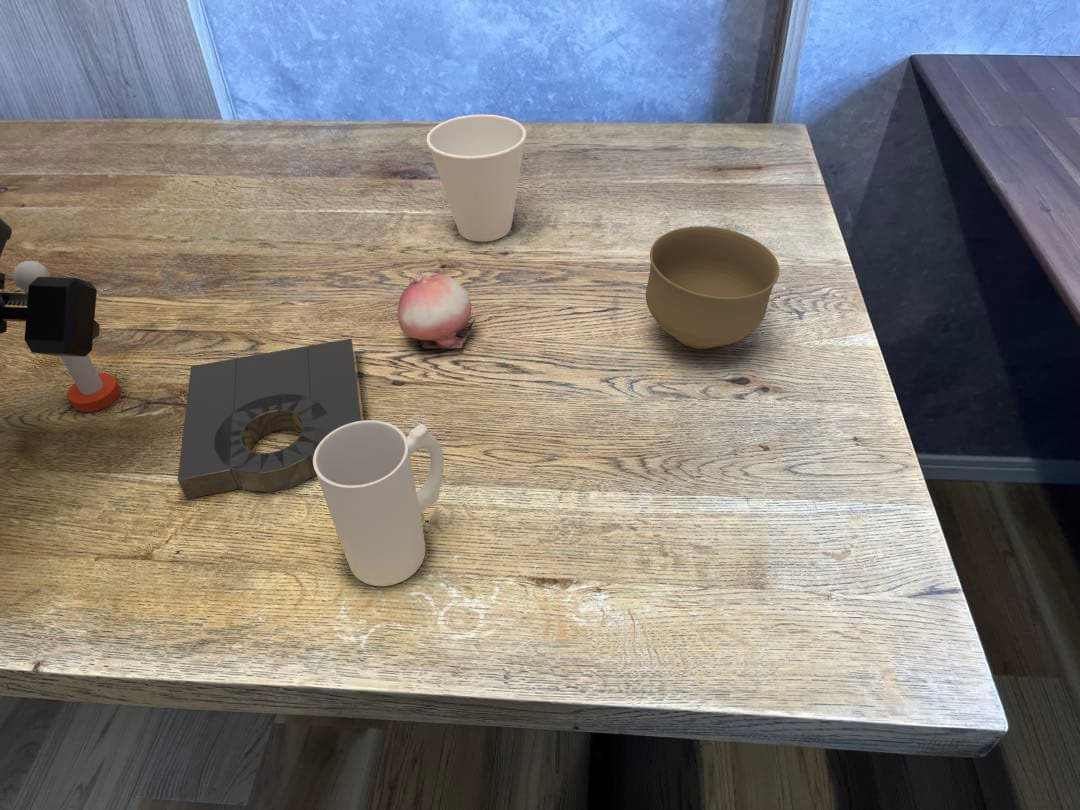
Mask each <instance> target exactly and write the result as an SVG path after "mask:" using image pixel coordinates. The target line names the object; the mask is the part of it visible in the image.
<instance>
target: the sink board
mask: <svg viewBox="0 0 1080 810" xmlns="http://www.w3.org/2000/svg"><path fill="white" fill-rule="evenodd" d="M188 379H189V380H188V389H187V398H186V406H185V412H184V413H185V414H184V422H183V423H184V424H183V431H182V439H181V440H182V441H181V447H180V457H179V464H178V473H177V482H178V484H179V486H180V489H181V490H182V492H183V494H184V497H185V498H186V499H187V500H189V499H194V498H199V497H205V496H208V495H209V496H210V495H215V494H219V493H225V492H230V491H236V490H241V489H243V490H244V491H249V492H259V493H272V492H273V493H274V492H279V491H283V490H288V489H289V490H290V489H291V488H294V487H296V486H299V485H301V484H302V483H304V482H306V481H309V480H310V479H312V478H313V477H315V476H317V474H316V472H315V469H314V466H313V456H314V453H315V450H316V448H317V446H318V445H319V443H320V442H321V441H322V440H323V439H324V438H325V437H326V436H327V435H328V434H330V433H331V432H332V431H334V430H336V429H337V428H339V427H341V426H344V425H346V424H349V423H353V422H357V421H364V419H365V417H364V410H363V404H362V403H363V402H362V396H361V395H362V394H361V385H360V378H359V370H358V361H357V355H356V350H355V346H354V343H353V339H352V338H346V339H341V340H334V341H330V342H329V341H328V342H321V343H318V344H311V345H304V346H300V347H293V348H288V349H280V350H276V351H270V352H265V353H264V352H263V353H259V354H253V355H246V356H242V357H236V358H230V359H225V360H219V361H213V362H207V363H201V364H196V365H191V366H190V372H189V378H188ZM285 430H286V431H296V432H298V433H300V434H299V436H298V438H297V439H295V440H294V441H293V442H292V443H291V444H290V445H288V446H286V447H284V448H282V449H280V450H276V451H270V452H265V453H264V452H255V451H253V450H252V448H253V446H254V445H255V444H256V443H257V442H258V441H259V440H260V439H262V438H263V437H265V436H267V435H269V434H272V433H274V432H279V431H285Z"/></svg>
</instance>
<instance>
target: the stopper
mask: <svg viewBox="0 0 1080 810" xmlns="http://www.w3.org/2000/svg"><path fill="white" fill-rule="evenodd" d="M37 277H51V275H50V271H49V270H48V268H47V267H46V266H45V265H44V264H42V263H41V262H40V261H39V262H38V261H36V260H25V261H22V262H20V263H18V264H17V265H16V266H15V267H14V270H13V273H12V278H13V281H14V284H15V285H16V286H17V287H18V288H19V289H20V290H22V291H23V293H28V290H29V285H30V284H31V283H32V282H33V281H34V280H35V279H36V278H37ZM59 357H60V359H61V360H62V362H63V364H64V366H65V367H66V369H67V371H68V373H69V375H70V377H71V379H72V380H73V382H74V383H73V384H72V385H71V386H70V387H69V389H68V390H67V396H66V397H67V399H68V401H69V402H70V404H71V406H72V407H73V409H75V411H78V412H82V413H93V412H97V411H101V410H103V409H105V408H107V407H109V406H110V405H112V404H114V403H115V401H116V400H117V399H118V398H119V397H120V395H121V387H120V384H119V383H118V381H117V379H116V377H115V376H113V375H112V374H109V373H106V372H105V373H101V372H100V373H98V371H97V369H96V367H95V365H94V363H93V362H92V359H91V358H90V356H89V354H88V355H86V356H85V357H80V356H59Z"/></svg>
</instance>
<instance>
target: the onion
mask: <svg viewBox="0 0 1080 810" xmlns="http://www.w3.org/2000/svg"><path fill="white" fill-rule="evenodd" d="M471 314H472V300H471V298H470V294H469V293H468V292H467V290H466V288H464V286H463V285H462V284H461V283H460V282H459V281H458V280H456V279H454V278H453V277H450V276H448V275H444V274H441V273H438V272H424V273H422V274H419V275H417V276H415V277H413V278H412V279H410V281H409V283H408V285H407V286H406V288H404V290H403V291H402V293H401V295H400V296H399V300H398V305H397V321H398V326H399V328H400V330H401V332H402V333H403V334H405V336H407V337H409V338H412V339H416V340H419V341H420V343H421V345H422V348H423V349H462V347H463V345H464V343H465V342H466V340H467V338H468V336H469V334H470V332H471V331H472V329H473V326H474V323H475V322H476V320H477V317H475V318H474V319H473V320H472V322H471V323H470V324H469V325H468V323H469V321H470V318H471V316H472V315H471ZM466 327H467V330H468V331H467V334H466V335H465V336H464V337H463V336H460V337H459V336H457V334H458V333H460V332H461V331H464V330H463V329H465V328H466Z"/></svg>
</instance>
